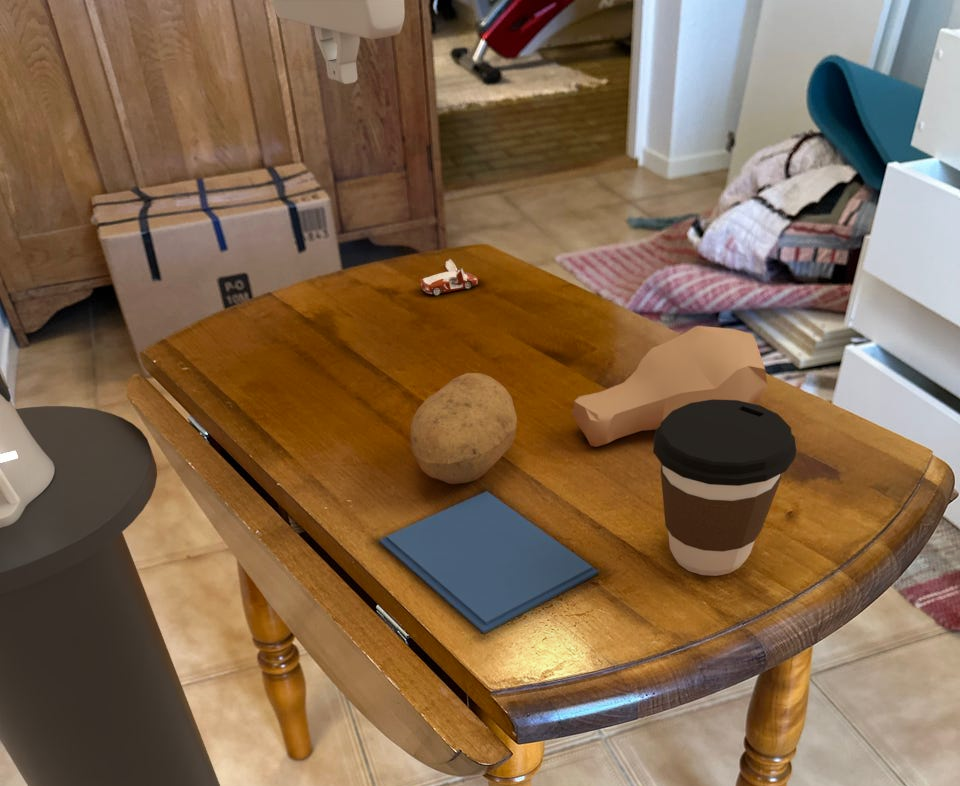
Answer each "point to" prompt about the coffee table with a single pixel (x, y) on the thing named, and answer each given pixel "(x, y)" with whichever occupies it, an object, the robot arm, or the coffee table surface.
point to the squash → (675, 383)
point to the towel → (487, 560)
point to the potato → (463, 428)
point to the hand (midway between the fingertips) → (343, 81)
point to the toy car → (448, 280)
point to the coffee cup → (719, 479)
